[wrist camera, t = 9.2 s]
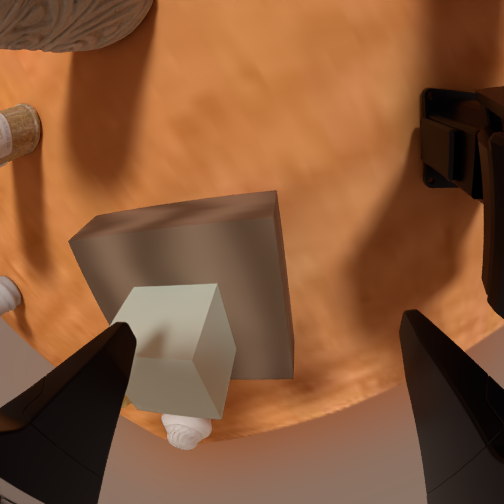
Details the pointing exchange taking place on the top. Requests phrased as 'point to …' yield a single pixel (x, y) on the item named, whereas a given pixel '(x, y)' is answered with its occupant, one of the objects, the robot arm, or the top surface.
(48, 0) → the carving
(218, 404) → the sage cube
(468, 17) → the top surface
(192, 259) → the walnut base
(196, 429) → the muffin
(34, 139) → the sprinkles bottle
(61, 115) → the top surface
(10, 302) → the rook chess piece
